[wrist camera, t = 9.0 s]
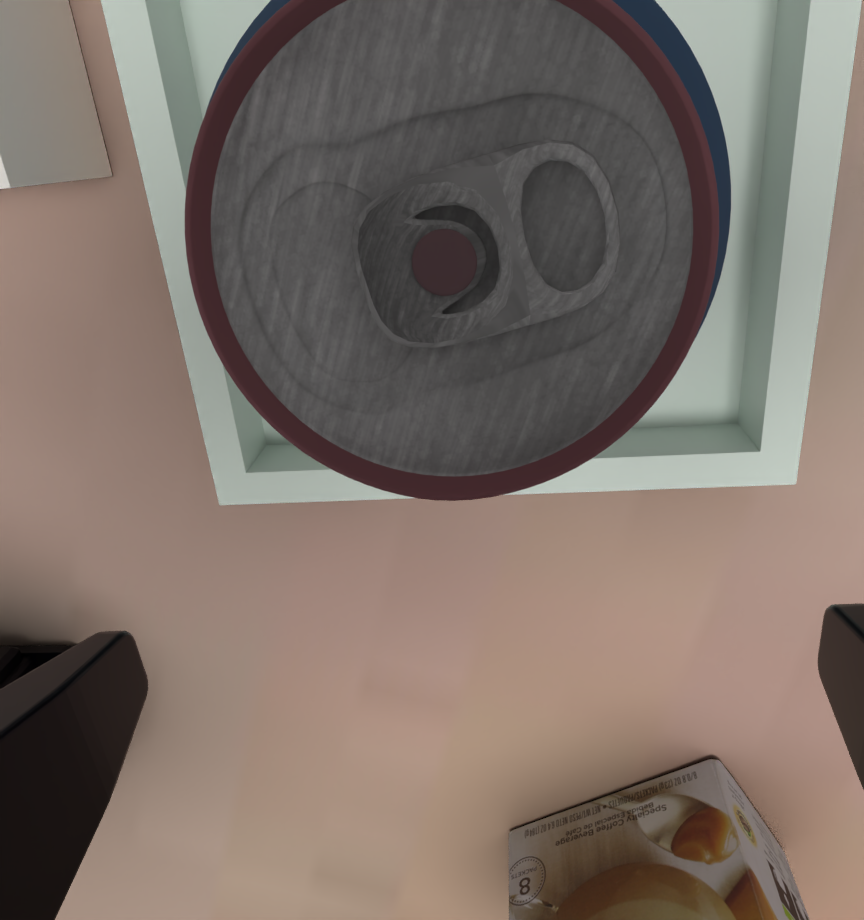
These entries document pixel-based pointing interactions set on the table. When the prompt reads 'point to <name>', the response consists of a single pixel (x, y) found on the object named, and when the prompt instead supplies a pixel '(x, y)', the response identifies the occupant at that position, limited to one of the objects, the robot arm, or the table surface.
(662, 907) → the coffee box
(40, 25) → the pale square open box
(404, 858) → the table surface
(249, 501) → the tray
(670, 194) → the soda can
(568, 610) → the table surface
